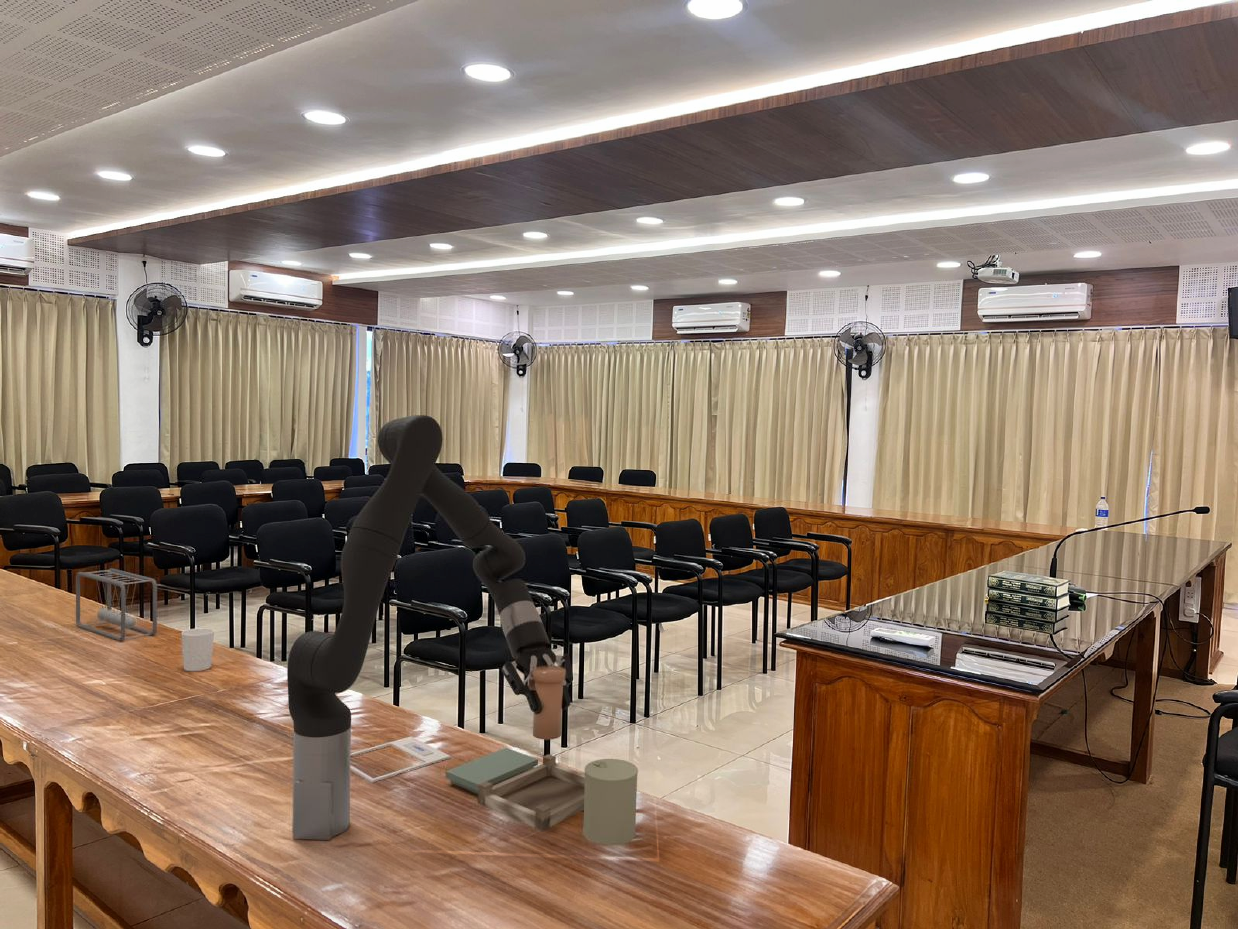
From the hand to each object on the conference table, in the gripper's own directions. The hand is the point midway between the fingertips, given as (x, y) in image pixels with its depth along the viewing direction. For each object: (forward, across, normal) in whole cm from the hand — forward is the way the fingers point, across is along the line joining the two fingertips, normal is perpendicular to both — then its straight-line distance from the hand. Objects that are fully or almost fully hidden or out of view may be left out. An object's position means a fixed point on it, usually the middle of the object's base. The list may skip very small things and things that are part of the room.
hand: (553, 709), depth 157 cm
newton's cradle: (-111, -56, +136) cm, 184 cm away
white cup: (-73, -41, +98) cm, 129 cm away
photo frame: (-11, -17, +38) cm, 43 cm away
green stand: (+2, -4, +23) cm, 24 cm away
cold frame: (+11, 0, +14) cm, 18 cm away
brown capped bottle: (+2, 0, +5) cm, 6 cm away
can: (+23, +3, +2) cm, 24 cm away
